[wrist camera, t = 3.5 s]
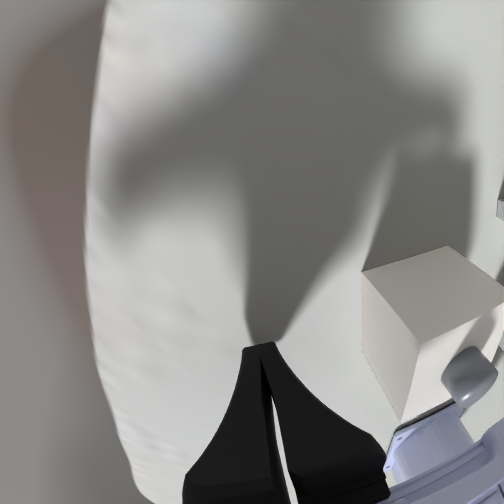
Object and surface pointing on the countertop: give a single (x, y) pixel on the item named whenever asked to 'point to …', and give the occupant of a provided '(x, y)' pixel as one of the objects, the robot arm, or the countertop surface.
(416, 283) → the white block
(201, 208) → the countertop surface
